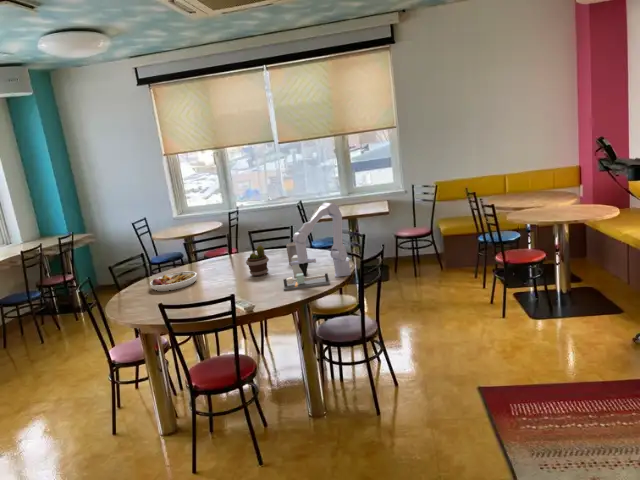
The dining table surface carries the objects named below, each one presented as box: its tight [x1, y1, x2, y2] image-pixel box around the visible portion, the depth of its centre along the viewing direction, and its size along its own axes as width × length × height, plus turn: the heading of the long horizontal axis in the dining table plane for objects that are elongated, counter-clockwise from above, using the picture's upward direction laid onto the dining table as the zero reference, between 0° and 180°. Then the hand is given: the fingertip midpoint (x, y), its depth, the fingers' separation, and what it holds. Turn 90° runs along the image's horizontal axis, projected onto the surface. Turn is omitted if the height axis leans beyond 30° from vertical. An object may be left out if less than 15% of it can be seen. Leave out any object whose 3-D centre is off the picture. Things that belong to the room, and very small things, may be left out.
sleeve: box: [295, 273, 306, 284], centre depth 295 cm, size 4×4×5 cm
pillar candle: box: [285, 241, 297, 266], centre depth 349 cm, size 10×10×15 cm
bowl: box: [149, 270, 198, 292], centre depth 338 cm, size 30×30×8 cm
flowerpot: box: [245, 244, 270, 277], centre depth 333 cm, size 14×15×20 cm
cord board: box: [283, 272, 330, 292], centre depth 296 cm, size 26×10×6 cm, turn 89°
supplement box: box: [291, 255, 308, 279], centre depth 317 cm, size 7×7×13 cm
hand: (305, 275), depth 295 cm, fingers closed
